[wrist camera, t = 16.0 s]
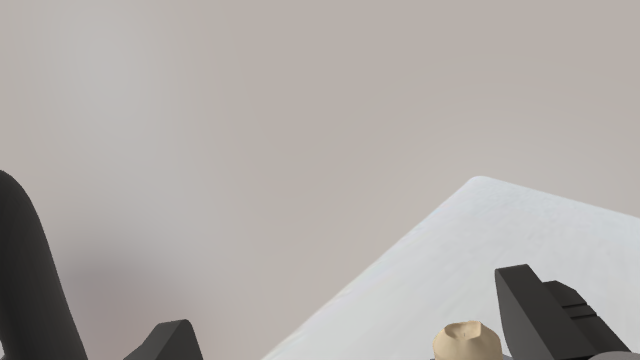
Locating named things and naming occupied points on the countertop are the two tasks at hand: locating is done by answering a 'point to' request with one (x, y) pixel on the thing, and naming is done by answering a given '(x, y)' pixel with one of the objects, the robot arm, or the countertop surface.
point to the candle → (467, 342)
